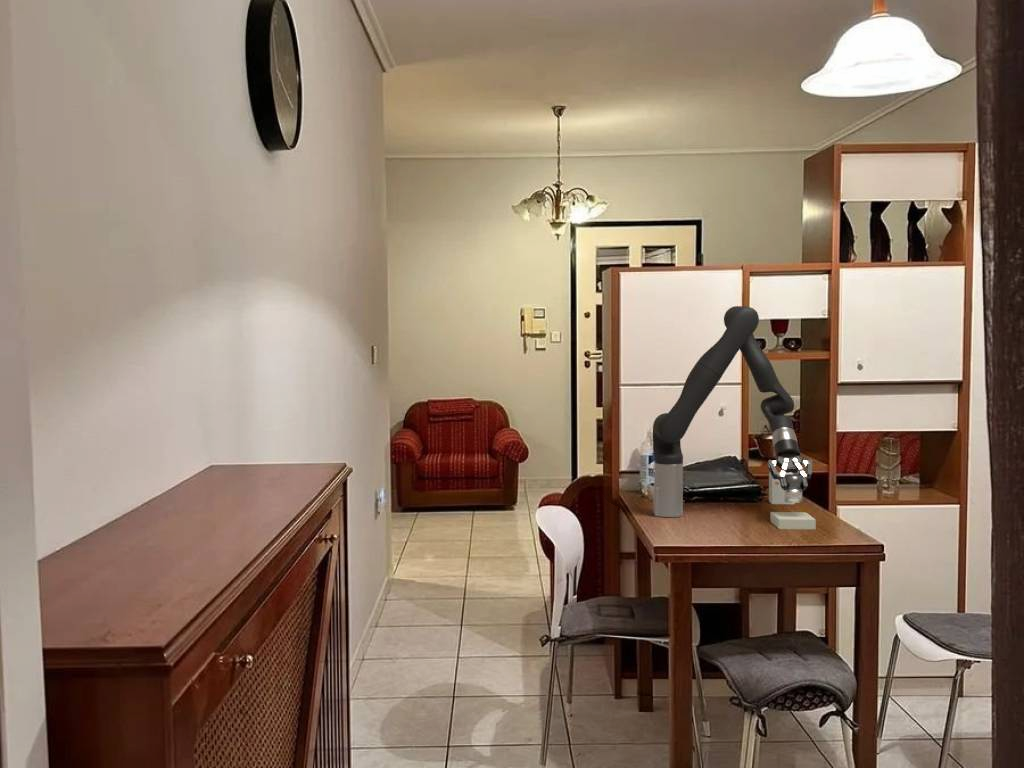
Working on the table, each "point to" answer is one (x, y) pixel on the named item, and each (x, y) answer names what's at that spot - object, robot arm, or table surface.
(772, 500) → the small box
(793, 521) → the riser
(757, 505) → the table surface
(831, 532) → the table surface
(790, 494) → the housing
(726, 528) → the table surface
